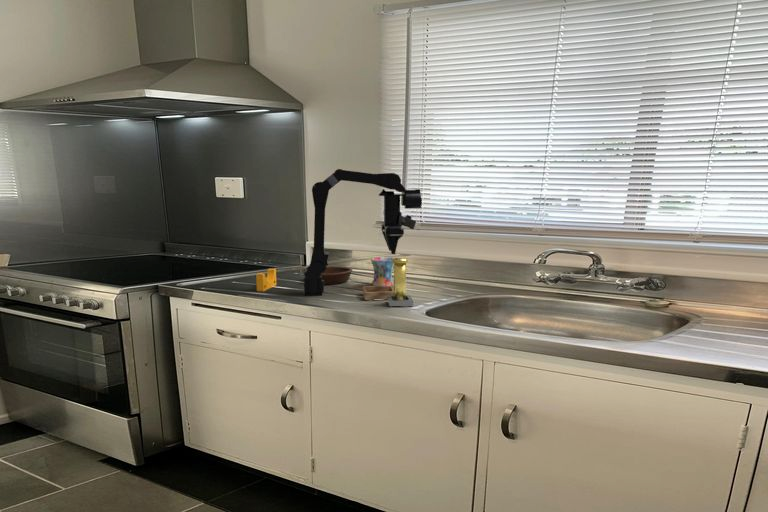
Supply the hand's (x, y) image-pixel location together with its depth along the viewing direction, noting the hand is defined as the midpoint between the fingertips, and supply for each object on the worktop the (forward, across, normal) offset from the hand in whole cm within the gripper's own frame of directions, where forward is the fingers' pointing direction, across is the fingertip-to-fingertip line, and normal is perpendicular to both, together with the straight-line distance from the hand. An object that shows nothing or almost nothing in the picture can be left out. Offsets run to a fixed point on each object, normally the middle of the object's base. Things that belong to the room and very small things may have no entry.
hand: (392, 252), depth 185 cm
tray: (+15, -7, +5) cm, 17 cm away
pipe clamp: (+15, +13, +47) cm, 51 cm away
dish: (+15, +23, +22) cm, 35 cm away
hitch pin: (+15, -18, -1) cm, 23 cm away
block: (+15, -18, -1) cm, 23 cm away
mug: (+15, +12, +1) cm, 19 cm away
